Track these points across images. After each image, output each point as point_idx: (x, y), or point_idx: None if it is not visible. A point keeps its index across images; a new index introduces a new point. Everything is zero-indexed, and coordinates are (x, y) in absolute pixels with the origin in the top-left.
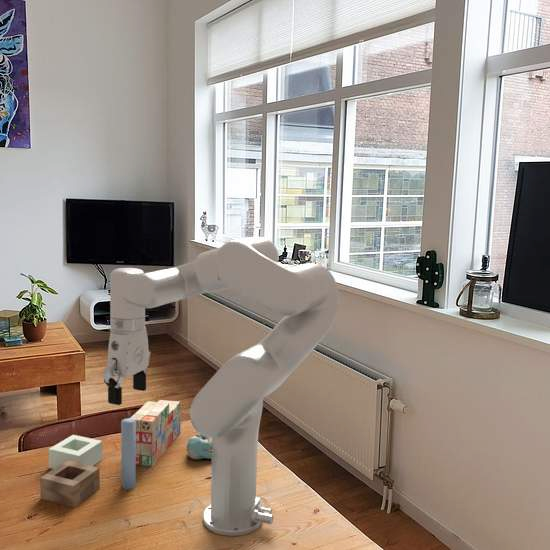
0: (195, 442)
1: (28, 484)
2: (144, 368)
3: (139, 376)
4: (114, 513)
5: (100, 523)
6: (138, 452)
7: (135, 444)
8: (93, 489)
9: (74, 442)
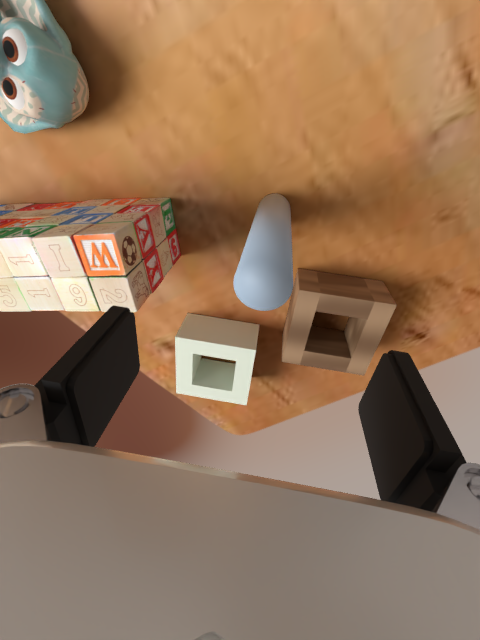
0: (48, 76)
1: (310, 381)
2: (78, 457)
3: (88, 404)
4: (403, 184)
5: (450, 196)
6: (166, 243)
7: (263, 225)
8: (319, 274)
9: (194, 379)
